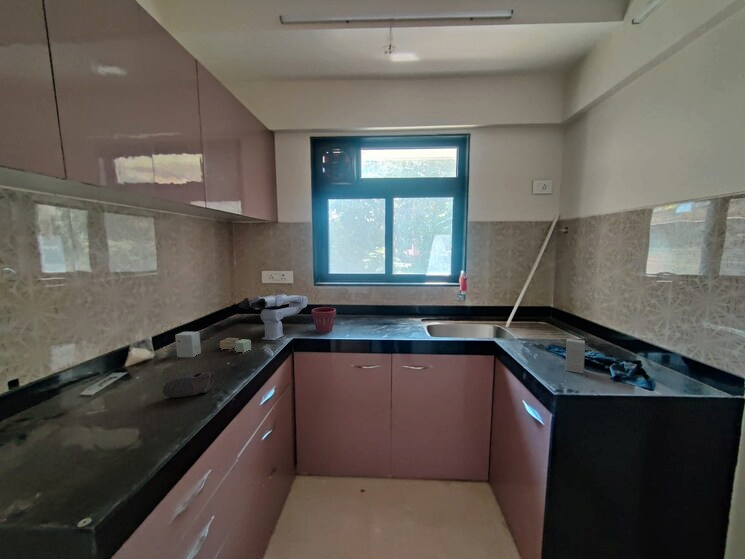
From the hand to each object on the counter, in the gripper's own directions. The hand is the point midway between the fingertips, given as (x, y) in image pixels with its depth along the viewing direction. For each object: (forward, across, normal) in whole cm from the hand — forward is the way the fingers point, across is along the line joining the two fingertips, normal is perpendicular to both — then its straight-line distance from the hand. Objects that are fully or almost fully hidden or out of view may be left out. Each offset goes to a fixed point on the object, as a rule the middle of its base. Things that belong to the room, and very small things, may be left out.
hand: (245, 305), depth 144 cm
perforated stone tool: (+42, +14, +25) cm, 51 cm away
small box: (+13, -20, +23) cm, 33 cm away
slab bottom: (-1, -10, +22) cm, 24 cm away
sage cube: (+1, 0, +22) cm, 22 cm away
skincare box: (-17, +142, +23) cm, 144 cm away
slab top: (-1, -10, +20) cm, 22 cm away
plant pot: (-42, +21, +19) cm, 50 cm away
